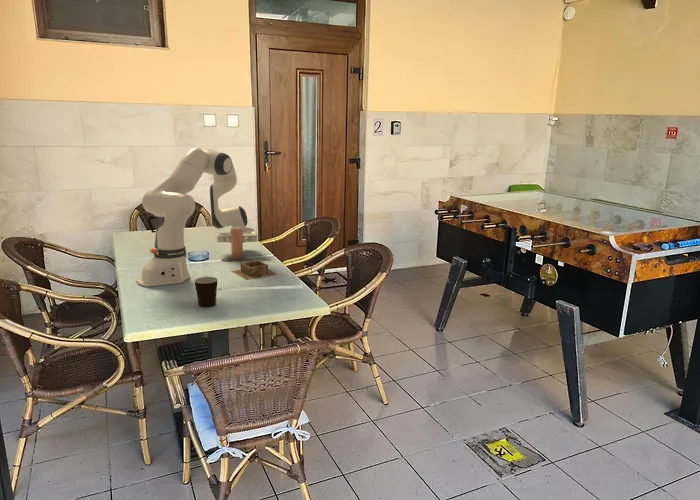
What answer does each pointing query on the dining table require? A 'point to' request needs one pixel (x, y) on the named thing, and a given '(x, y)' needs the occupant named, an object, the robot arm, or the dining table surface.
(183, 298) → the dining table surface
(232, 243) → the brown tall block piece
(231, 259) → the mat
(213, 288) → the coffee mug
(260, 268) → the jug stand
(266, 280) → the dining table surface
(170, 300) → the dining table surface
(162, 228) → the robot arm
